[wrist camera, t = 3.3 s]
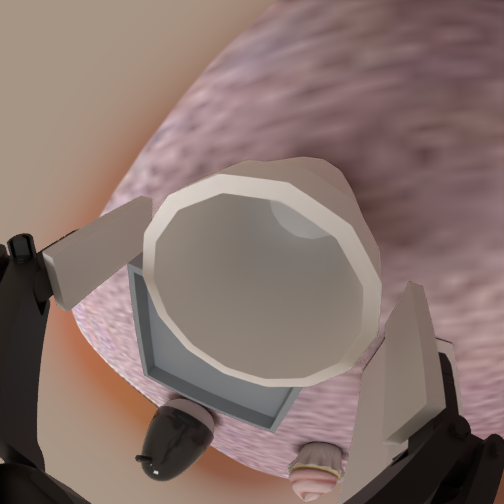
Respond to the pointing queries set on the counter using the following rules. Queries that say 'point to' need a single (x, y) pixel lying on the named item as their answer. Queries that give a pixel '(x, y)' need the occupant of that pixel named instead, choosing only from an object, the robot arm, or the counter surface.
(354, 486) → the milk carton
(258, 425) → the tray
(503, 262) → the counter surface
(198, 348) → the foam cup
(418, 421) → the robot arm
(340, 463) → the cupcake
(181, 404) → the pump dispenser
